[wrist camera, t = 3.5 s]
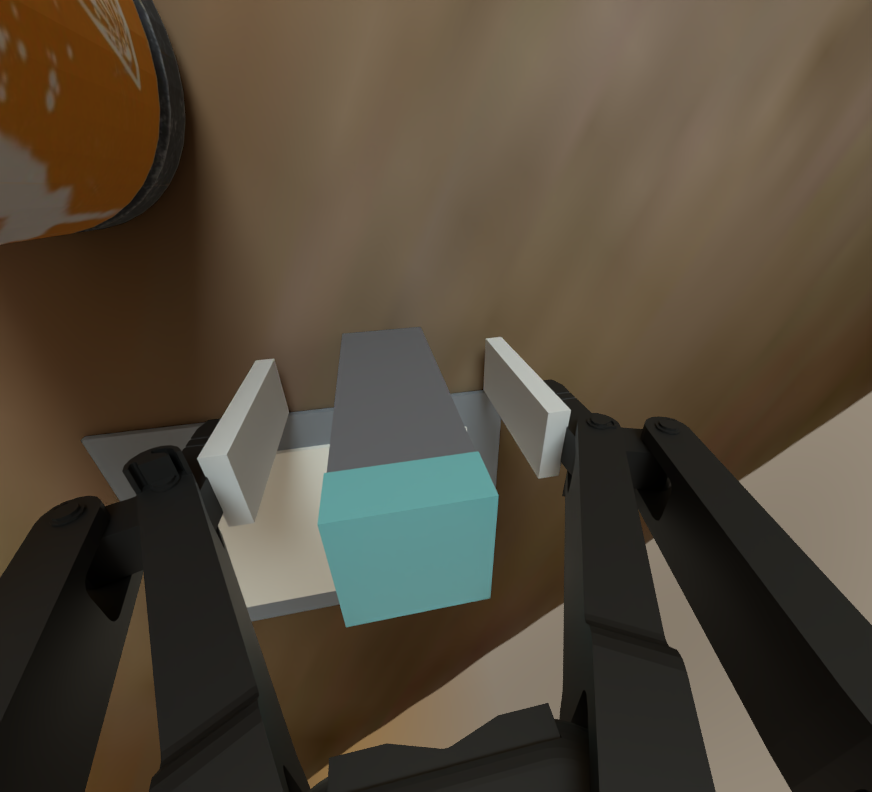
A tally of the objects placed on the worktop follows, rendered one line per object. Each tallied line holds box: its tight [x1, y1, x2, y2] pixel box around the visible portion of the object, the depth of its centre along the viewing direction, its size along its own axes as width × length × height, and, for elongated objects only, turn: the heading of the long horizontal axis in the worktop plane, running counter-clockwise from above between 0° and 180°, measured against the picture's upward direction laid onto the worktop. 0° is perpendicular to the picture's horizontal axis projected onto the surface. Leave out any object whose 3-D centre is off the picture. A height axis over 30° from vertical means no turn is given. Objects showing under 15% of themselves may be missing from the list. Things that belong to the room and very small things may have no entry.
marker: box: [317, 327, 499, 627], centre depth 13 cm, size 4×4×11 cm
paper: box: [81, 390, 501, 621], centre depth 22 cm, size 20×16×1 cm
